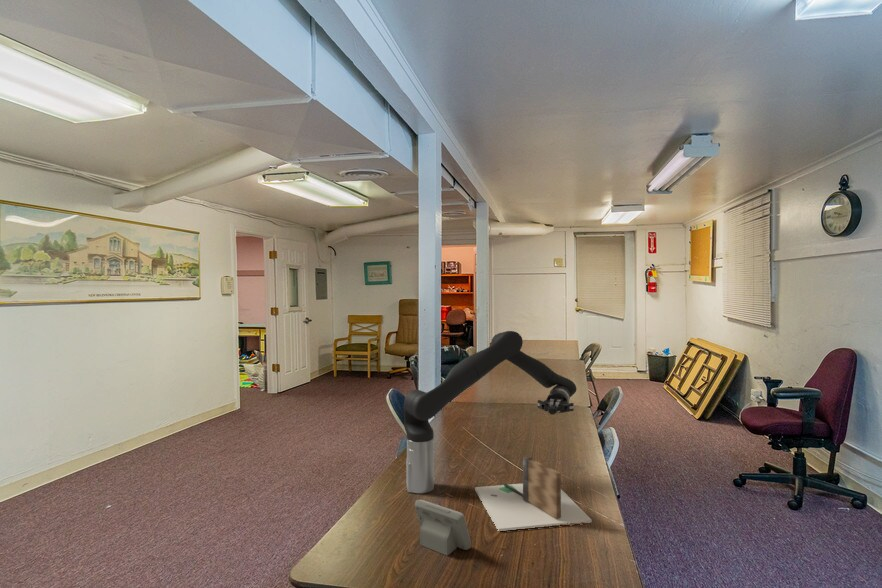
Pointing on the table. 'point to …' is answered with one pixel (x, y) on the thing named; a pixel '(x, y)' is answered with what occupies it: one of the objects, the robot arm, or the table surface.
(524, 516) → the thin white panel
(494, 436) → the table surface
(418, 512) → the digital clock
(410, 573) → the table surface
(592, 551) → the table surface
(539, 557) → the table surface
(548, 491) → the wooden board with post
